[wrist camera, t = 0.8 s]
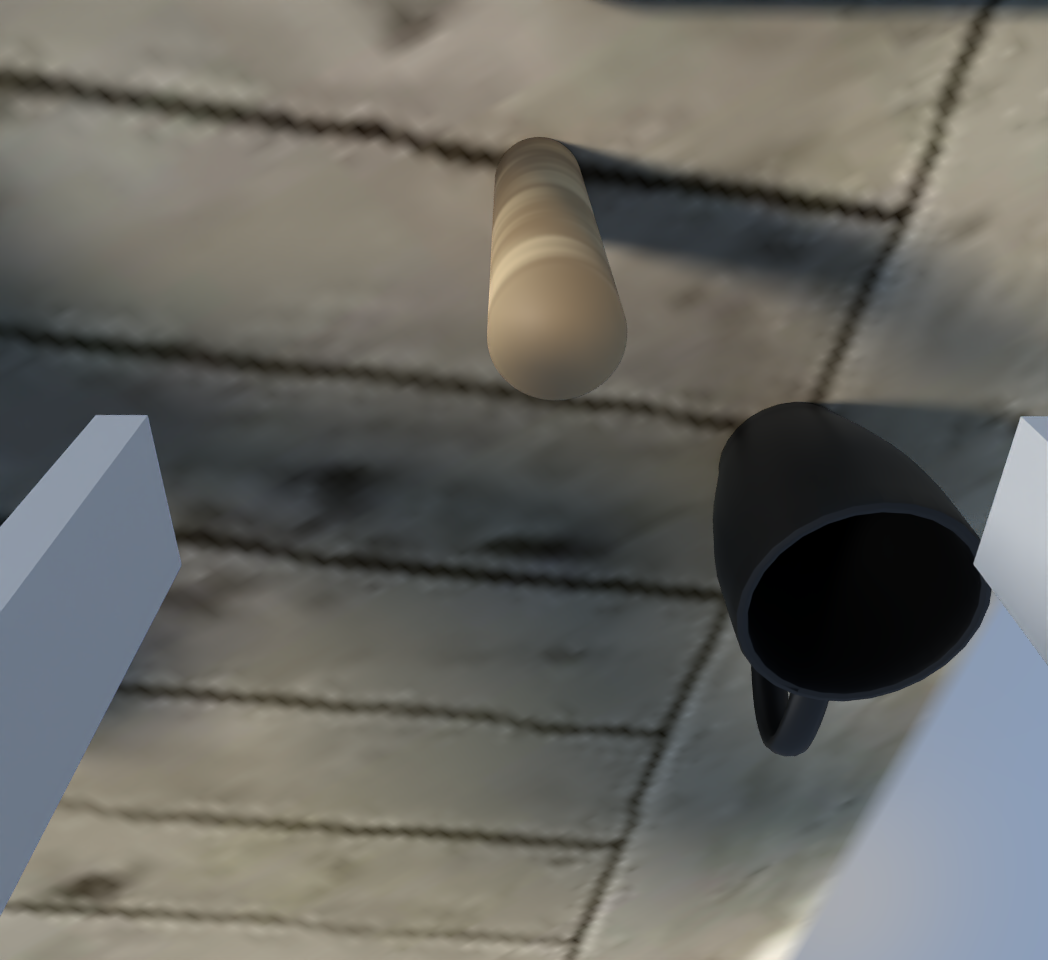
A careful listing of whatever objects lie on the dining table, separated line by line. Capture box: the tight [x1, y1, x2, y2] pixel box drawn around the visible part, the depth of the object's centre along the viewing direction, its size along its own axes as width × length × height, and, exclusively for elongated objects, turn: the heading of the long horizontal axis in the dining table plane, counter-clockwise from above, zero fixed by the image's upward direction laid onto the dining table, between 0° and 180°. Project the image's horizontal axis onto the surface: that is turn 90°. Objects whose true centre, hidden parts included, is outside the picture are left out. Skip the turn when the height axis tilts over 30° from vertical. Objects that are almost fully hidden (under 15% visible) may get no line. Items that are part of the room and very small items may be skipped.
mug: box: [713, 402, 992, 756], centre depth 34 cm, size 8×12×10 cm
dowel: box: [487, 137, 627, 400], centre depth 26 cm, size 3×3×14 cm
